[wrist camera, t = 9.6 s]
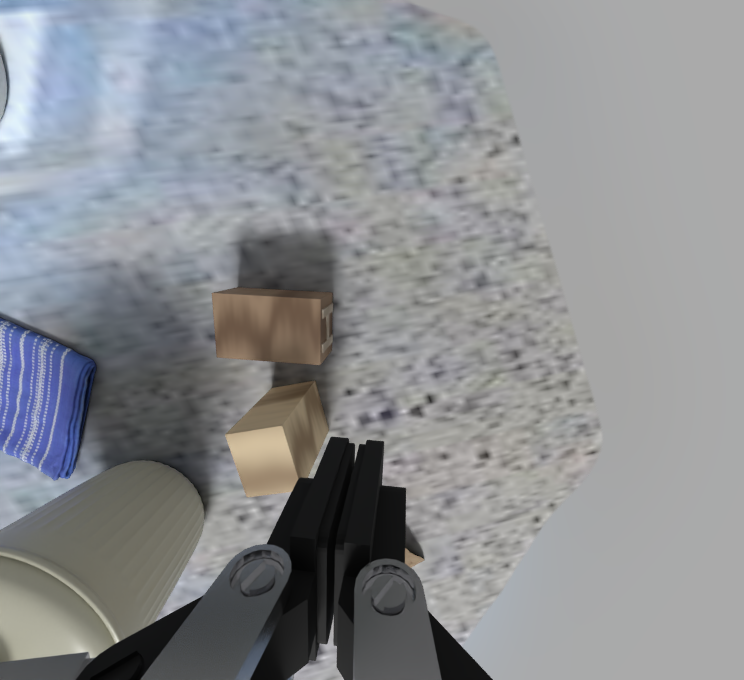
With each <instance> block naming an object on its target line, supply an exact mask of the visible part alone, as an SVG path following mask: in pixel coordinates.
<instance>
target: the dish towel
mask: <svg viewBox="0 0 744 680" xmlns="http://www.w3.org/2000/svg"><path fill="white" fill-rule="evenodd" d="M95 371H96V364H95V362H94V361H93V360H92V359H90V358H87V357H85V356H83V355H80V354H78V353H77V352H75V351H74V350H72V349H70V348H67V347H65V346H63V345H62V344H59V343H57V342H56V341H53V340H51V339H49V338H46V337H44V336H43V335H39V334H37V333H35V332H33V331H31V330H27V329H24V328H22V327H21V326H18V325H16V324H14V323H12V322H9V321H7V320H4V319H2V318H0V450H2V451H3V452H4V453H6V454H8V455H11V456H15V457H17V458H20V459H21V460H22V461H24V462H26V463H30V464H32V465H33V466H35V467H37V468H38V470H39V471H41V472H43V473H44V474H46V475H48V476H49V477H51V478H52V479H53V480H57V479H58V478H59V477H61V478H66V479H68V478H70V476H71V474H72V473H73V469H75V467H76V462H77V456H78V451H79V447H80V443H81V436H82V431H83V427H84V422H85V417H86V412H87V408H88V404H89V398H90V393H91V388H92V384H93V379H94V375H95Z"/></svg>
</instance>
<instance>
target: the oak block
mask: <svg viewBox="0 0 744 680" xmlns="http://www.w3.org/2000/svg"><path fill="white" fill-rule="evenodd" d="M328 431H329V429H328V426H327V422H326V418H325V415H324V411H323V407H322V404H321V400H320V396H319V393H318V389H317V385H316V382H315V381H309V382H303V383H298V384H292V385H286V386H281V387H275V388H271V389H270V390H269V391H268V392H267V393H266V394H265V395H264V396H263V397H262V398H261V399H260V400H259V401H258V402H257V403H256V404H255V405H254V406H253V407H252V408H251V409H250V410H249V411H248V412H247V413H246V414H245V415H244V416H243V417H242V418H241V419H240V420H239V421H238V422H237V423H236V424H235V425H234V426H233V427H232V428H231V429H230V430H229V431H228V432H227V433H226V434H225V436H226V439H227V442H228V445H229V447H230V450H231V453H232V456H233V459H234V462H235V465H236V468H237V470H238V473H239V476H240V479H241V482H242V485H243V488H244V491H245V493H246V496H247V497H254V496H261V495H269V494H277V493H285V492H292V490H293V488H294V486H295V484H296V482H297V480H298V479H299V478H300V477H303V478H308V476H309V473H310V471H311V469H312V467H313V465H314V462H315V460H316V458H317V456H318V454H319V451H320V449H321V447H322V445H323V442H324V440H325V438H326V436H327V434H328Z"/></svg>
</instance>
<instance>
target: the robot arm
mask: <svg viewBox="0 0 744 680" xmlns="http://www.w3.org/2000/svg"><path fill="white" fill-rule="evenodd" d="M6 100H7V81H6V73H5V68H4V64H3V61H2V57H1V54H0V120H1V117H2V115H3V113H4V109H5V104H6ZM383 455H384V441H373V440H367V441H366V445H365V444H360V445H359V449H358V452H357V456H356V460H355V444H354V443H349V439H348V438H340V437H331V438H330V440H329V443H328V445H327V447H326V450H325V452H324V455H323V457H322V460H321V462H320V464H319V467H318V469H317V472H316V474H315V476H314V479H313V478H303V477H300V478H299V479H298V480H297V482H296V484H295V486H294V488H293V490H292V493H291V495H290V497H289V499H288V501H287V503H286V505H285V507H284V509H283V511H282V513H281V515H280V518H279V520H278V522H277V524H276V526H275V528H274V530H273V532H272V534H271V536H270V538H269V540H268V542H267V544H262V545H255V546H253V547H250V548H247V549H245V550H243V551H242V552H240V553H239V554H237V555H236V556H235V557H234V558H233V559H232V560H231V561H230V562H229V563H228V564H227V566H226V567H225V568H224V570H223V571H222V572H221V574H220V575H219V576H218V577H217V579H216V580H215V581H214V583H213V584H212V585H211V587H210V588H209V589H208V591H207V592H206V593H205V595H204V596H202V597H200V598H198V599H196V600H195V601H193V602H191V603H189V604H187V605H185V606H184V607H182V608H180V609H178V610H176V611H174V612H173V613H171V614H169V615H167V616H165V617H163V618H162V619H160V620H158V621H156V622H154V623H152V624H150V625H149V626H147V627H145V628H143V629H141V630H139V631H138V632H136V633H134V634H132V635H130V636H128V637H127V638H125V639H123V640H121V641H119V642H117V643H116V644H114V645H112V646H111V647H109V648H108V649H106V650H105V651H103V652H102V653H100V654H99V655H98V656H97V657H96V658H90V655H89V652H83V653H74V654H66V655H57V656H49V657H40V658H31V659H23V660H14V661H6V662H0V680H294V674H295V673H296V672H297V671H298V670H300V669H301V668H302V667H304V666H305V665H306V664H307V663H308V662H309V660H313V661H316V657H317V652H318V648H319V643H321V644H327V643H328V639H329V635H330V630H331V625H332V620H333V615H334V645H335V646H337V668H338V670H339V672H340V673H341V675H342V676H343V678H344V680H493V679H492V678H490V676H489V675H488V674H487V673H486V672H485V671H484V670H483V669H482V668H481V667H480V666H479V665H478V663H477V662H476V661H475V660H474V659H473V658H472V657H471V656H470V655H469V654H468V653H467V652H466V651H465V650H464V649H463V647H462V646H461V645H460V644H459V643H458V642H457V641H456V640H455V639H454V638H453V637H452V636H451V635H450V634H449V633H448V632H447V630H446V629H445V628H444V627H443V626H442V625H441V624H440V623H439V622H438V621H437V620H436V619H435V618H434V617H433V616H432V614H431V613H430V612H429V611H428V609H427V604H426V599H425V594H424V589H423V586H422V583H421V580H420V578H419V577H418V575H417V574H416V573H415V571H414V570H413V569H412V568H410V567H409V566H408V565H407V564H405V520H406V488H402V487H392V486H382V473H383ZM354 462H355V464H354Z"/></svg>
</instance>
